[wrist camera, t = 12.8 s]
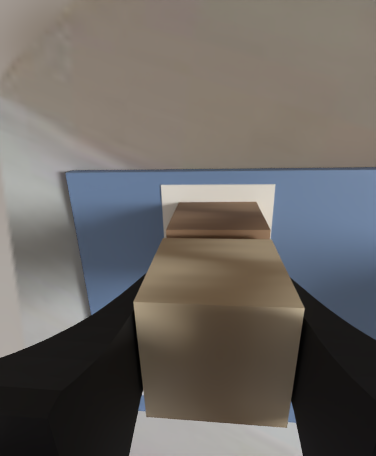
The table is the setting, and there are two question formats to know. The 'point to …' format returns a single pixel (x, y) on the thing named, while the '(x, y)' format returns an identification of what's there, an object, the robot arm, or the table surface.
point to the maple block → (218, 332)
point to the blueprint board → (236, 192)
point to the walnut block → (218, 221)
